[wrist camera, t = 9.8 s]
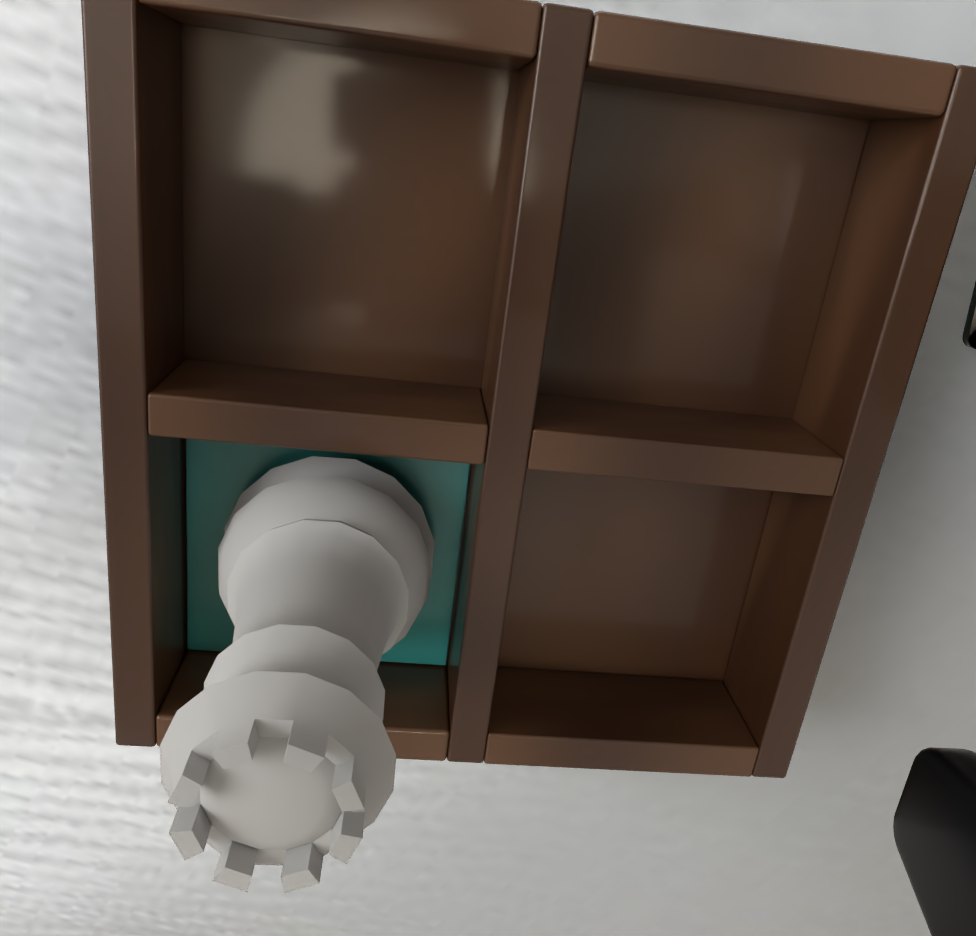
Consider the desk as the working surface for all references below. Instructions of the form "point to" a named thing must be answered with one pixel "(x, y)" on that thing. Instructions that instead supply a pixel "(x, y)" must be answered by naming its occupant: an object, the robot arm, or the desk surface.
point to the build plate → (971, 323)
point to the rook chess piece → (299, 672)
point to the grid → (516, 345)
